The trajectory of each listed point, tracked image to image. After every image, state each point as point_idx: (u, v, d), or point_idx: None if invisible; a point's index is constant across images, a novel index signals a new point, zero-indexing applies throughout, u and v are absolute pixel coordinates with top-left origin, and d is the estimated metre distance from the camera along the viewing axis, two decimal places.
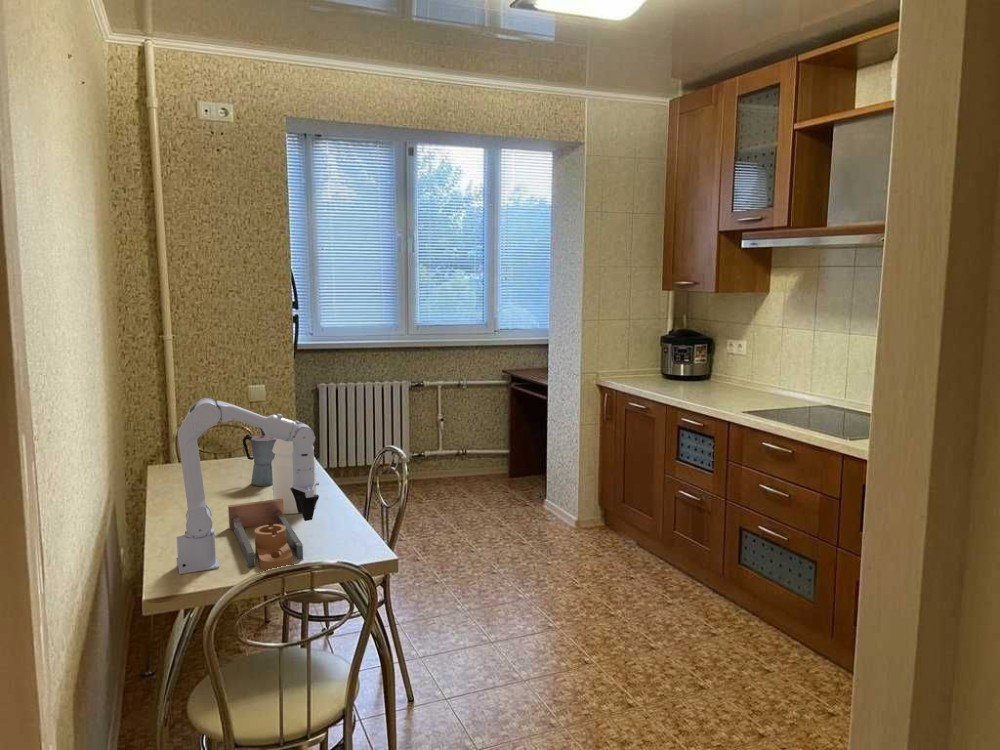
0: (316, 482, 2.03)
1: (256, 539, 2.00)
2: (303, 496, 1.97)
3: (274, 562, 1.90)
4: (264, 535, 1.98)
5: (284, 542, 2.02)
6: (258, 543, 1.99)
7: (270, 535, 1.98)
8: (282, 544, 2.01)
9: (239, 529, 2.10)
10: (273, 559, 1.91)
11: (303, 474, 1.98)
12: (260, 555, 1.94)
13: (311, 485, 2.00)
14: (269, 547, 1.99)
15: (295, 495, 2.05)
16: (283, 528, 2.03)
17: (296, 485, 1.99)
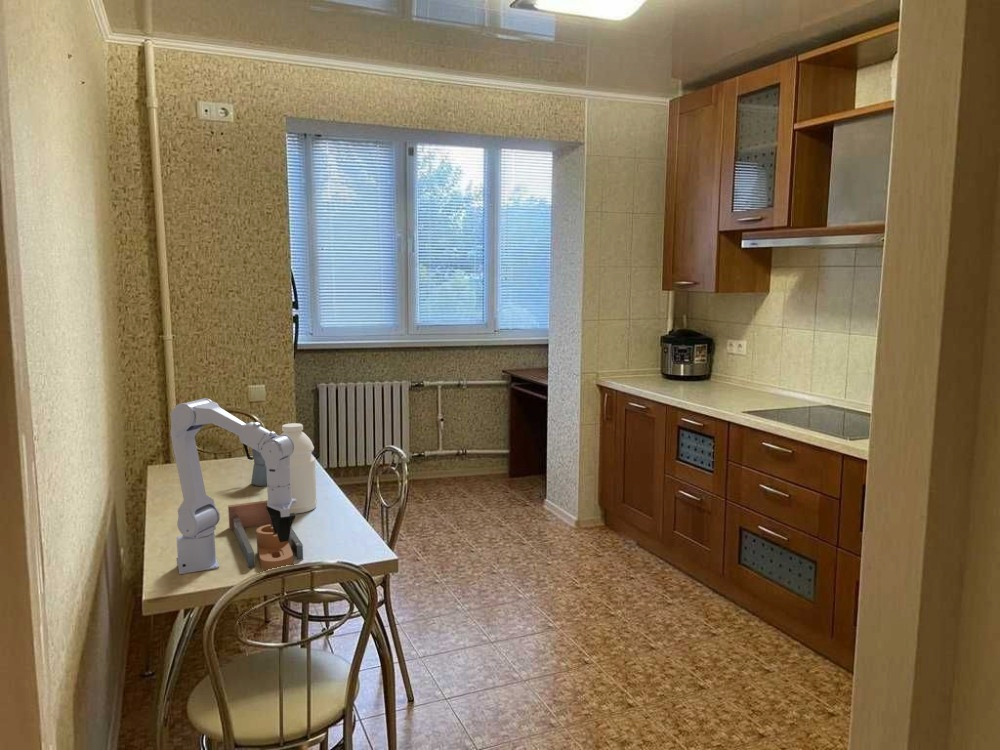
0: (293, 499, 1.86)
1: (258, 538, 2.00)
2: (278, 515, 1.80)
3: (274, 562, 1.90)
4: (265, 535, 1.99)
5: (286, 542, 2.02)
6: (260, 542, 2.00)
7: (271, 535, 1.99)
8: (283, 544, 2.01)
9: (239, 529, 2.10)
10: (273, 559, 1.92)
11: (279, 491, 1.81)
12: (261, 555, 1.94)
13: (287, 503, 1.83)
14: (271, 547, 1.99)
15: (271, 514, 1.87)
16: None
17: (271, 503, 1.82)
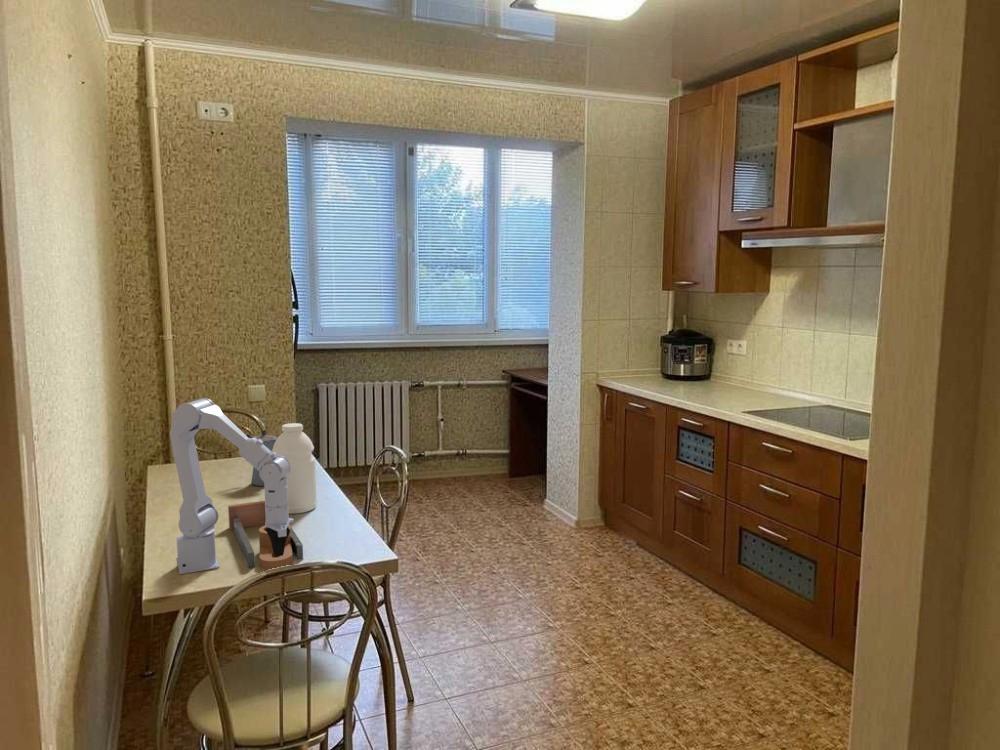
0: (290, 519, 1.91)
1: (260, 538, 2.01)
2: (273, 531, 1.88)
3: (272, 562, 1.90)
4: (267, 534, 1.99)
5: (287, 542, 2.02)
6: (261, 541, 2.00)
7: None
8: (285, 544, 2.01)
9: (239, 529, 2.10)
10: (272, 558, 1.92)
11: (276, 511, 1.86)
12: (261, 554, 1.95)
13: (285, 523, 1.88)
14: None
15: None
16: None
17: (268, 523, 1.87)
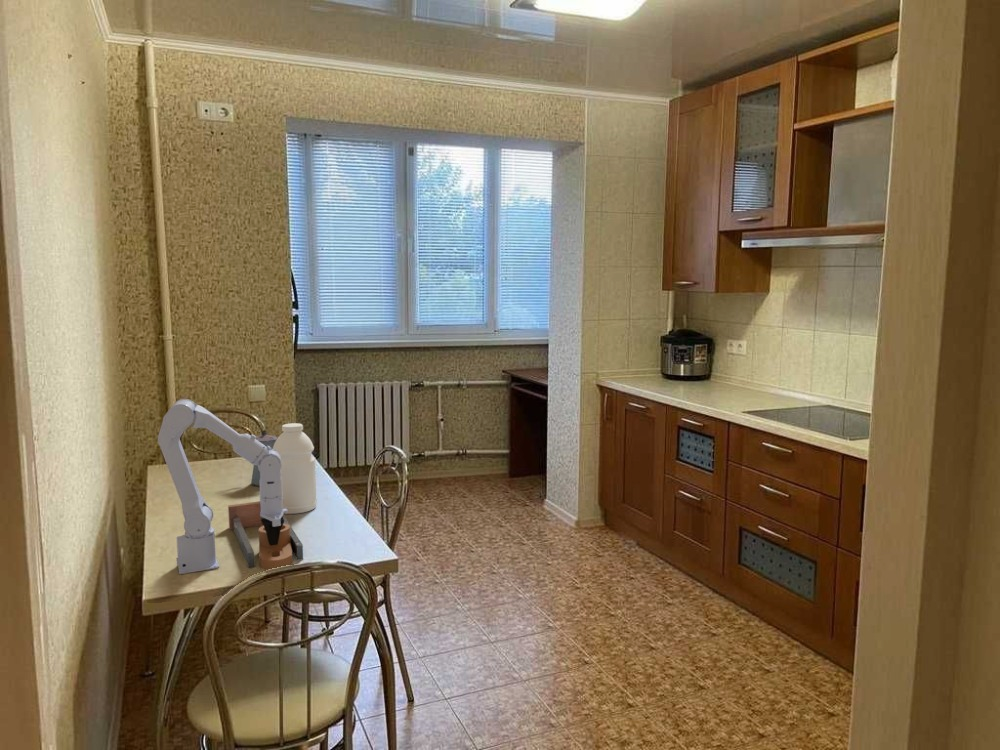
0: (285, 510, 1.98)
1: (259, 537, 2.01)
2: (268, 521, 1.95)
3: (272, 561, 1.91)
4: (266, 534, 1.99)
5: (287, 541, 2.02)
6: (261, 541, 2.00)
7: None
8: (285, 543, 2.02)
9: (239, 529, 2.10)
10: (272, 558, 1.92)
11: (271, 502, 1.94)
12: (261, 553, 1.95)
13: (279, 513, 1.95)
14: (272, 546, 2.00)
15: None
16: (287, 527, 2.03)
17: (263, 513, 1.95)
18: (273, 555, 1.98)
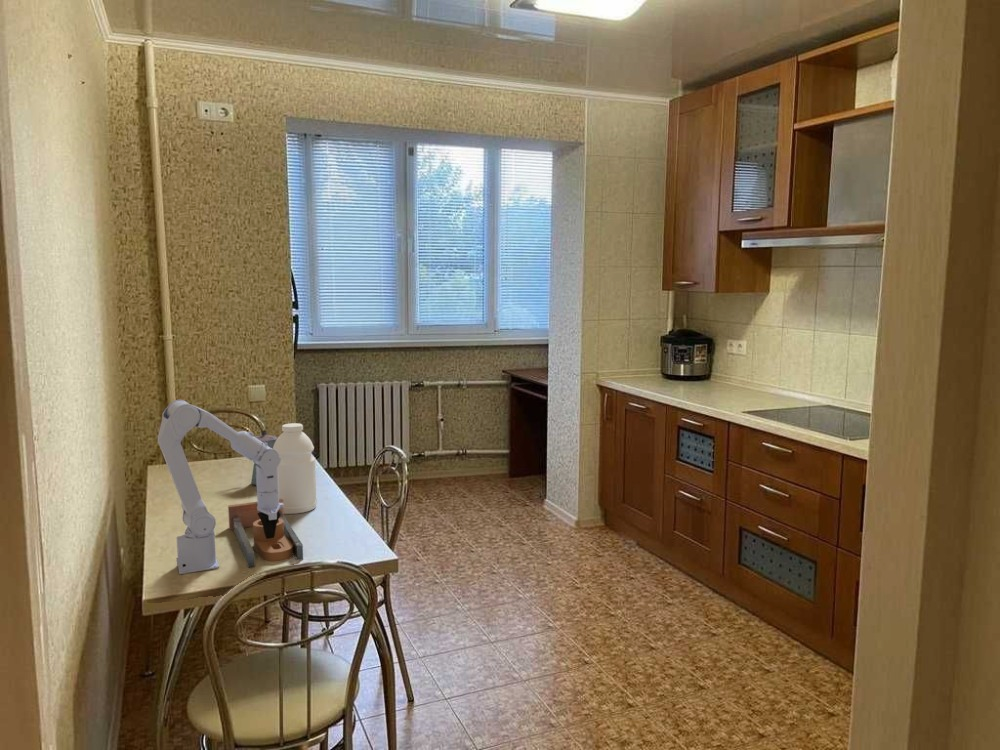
0: (281, 504, 2.04)
1: (255, 532, 2.05)
2: (264, 515, 2.01)
3: (277, 553, 1.96)
4: None
5: (282, 534, 2.08)
6: (257, 536, 2.05)
7: None
8: (281, 536, 2.07)
9: (239, 529, 2.10)
10: (275, 550, 1.98)
11: (267, 496, 1.99)
12: (261, 547, 2.00)
13: (275, 507, 2.01)
14: (269, 540, 2.05)
15: None
16: (281, 521, 2.09)
17: (260, 507, 2.00)
18: (272, 548, 2.03)
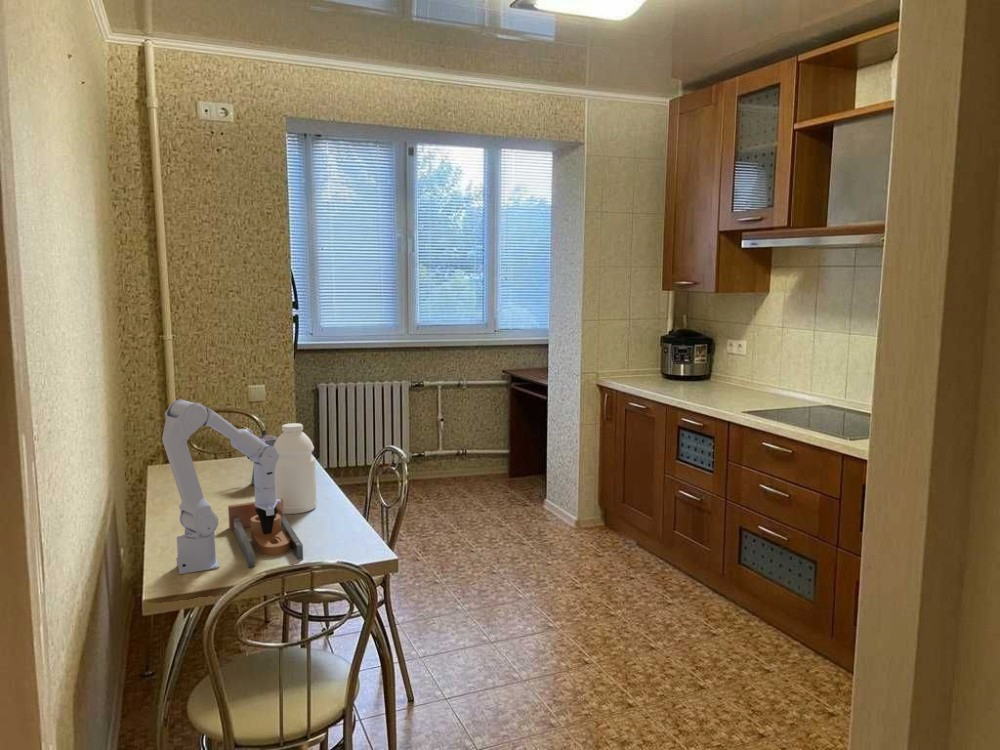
0: (278, 500, 2.07)
1: (253, 527, 2.09)
2: (262, 510, 2.04)
3: (275, 547, 2.00)
4: None
5: (279, 529, 2.12)
6: (255, 531, 2.09)
7: None
8: (278, 531, 2.11)
9: (239, 529, 2.10)
10: (273, 544, 2.02)
11: (265, 492, 2.03)
12: (259, 542, 2.04)
13: (272, 503, 2.04)
14: (266, 535, 2.09)
15: None
16: (278, 516, 2.13)
17: (258, 503, 2.03)
18: (269, 543, 2.07)
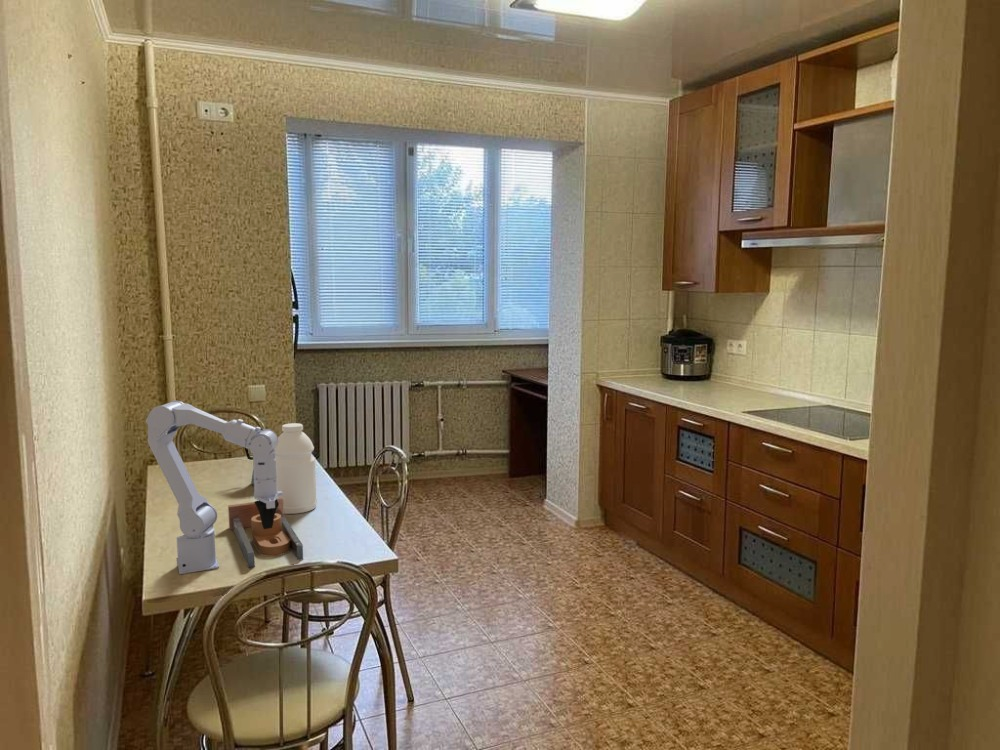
0: (279, 492, 1.92)
1: (253, 527, 2.10)
2: (262, 503, 1.89)
3: (274, 547, 2.01)
4: (261, 523, 2.08)
5: (280, 529, 2.12)
6: (255, 530, 2.09)
7: None
8: (278, 531, 2.11)
9: (239, 529, 2.10)
10: (273, 544, 2.02)
11: (265, 483, 1.88)
12: (259, 542, 2.04)
13: (273, 495, 1.89)
14: (267, 534, 2.09)
15: None
16: (278, 516, 2.13)
17: (257, 495, 1.88)
18: (269, 543, 2.08)
